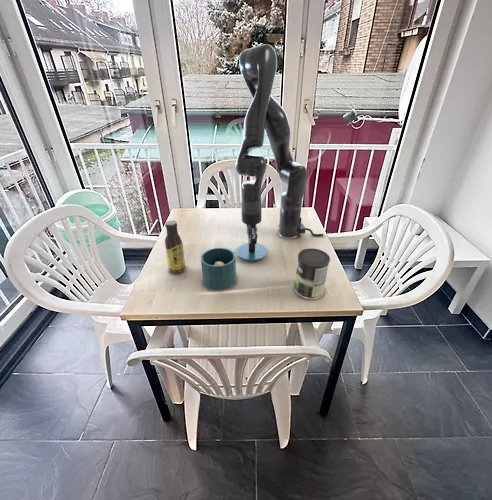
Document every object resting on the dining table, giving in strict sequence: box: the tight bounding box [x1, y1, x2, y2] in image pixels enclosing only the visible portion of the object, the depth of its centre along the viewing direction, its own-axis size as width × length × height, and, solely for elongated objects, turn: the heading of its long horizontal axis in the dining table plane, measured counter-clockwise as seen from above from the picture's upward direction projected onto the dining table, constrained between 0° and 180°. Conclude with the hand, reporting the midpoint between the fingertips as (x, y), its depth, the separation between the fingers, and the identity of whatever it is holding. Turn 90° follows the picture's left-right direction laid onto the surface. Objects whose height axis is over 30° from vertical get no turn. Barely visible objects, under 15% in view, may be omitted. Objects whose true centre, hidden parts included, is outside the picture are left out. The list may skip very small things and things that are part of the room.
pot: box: [200, 247, 237, 291], centre depth 101 cm, size 12×12×10 cm
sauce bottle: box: [164, 220, 186, 274], centre depth 105 cm, size 7×6×20 cm
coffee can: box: [294, 247, 331, 300], centre depth 96 cm, size 10×10×14 cm
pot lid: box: [235, 242, 268, 262], centre depth 116 cm, size 13×13×6 cm
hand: (251, 248), depth 116 cm, fingers closed on pot lid, 2 cm apart
